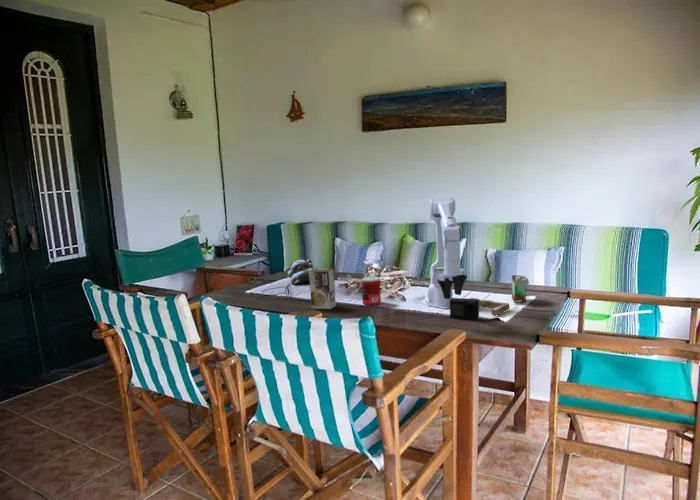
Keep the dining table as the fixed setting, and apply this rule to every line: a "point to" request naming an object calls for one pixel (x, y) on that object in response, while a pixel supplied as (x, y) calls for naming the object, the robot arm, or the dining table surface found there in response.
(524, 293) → the food container
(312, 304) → the coffee box
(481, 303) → the frame
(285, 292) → the glasses
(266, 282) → the dining table surface
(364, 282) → the canned food
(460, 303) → the digital camera
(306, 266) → the grey lumpy clump
